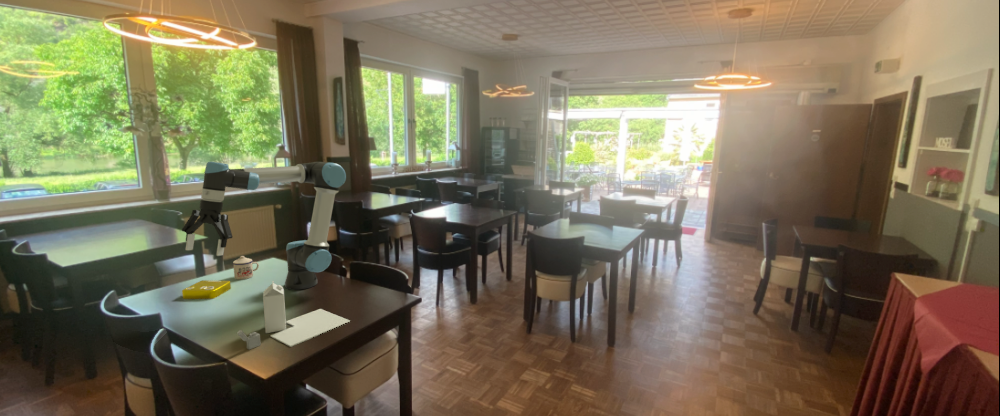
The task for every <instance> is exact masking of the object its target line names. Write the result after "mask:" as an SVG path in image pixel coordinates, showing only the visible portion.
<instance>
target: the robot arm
mask: <svg viewBox="0 0 1000 416" xmlns="http://www.w3.org/2000/svg"><path fill="white" fill-rule="evenodd" d="M203 174H204V175H203V183H202V189H201V200H200V202H199V203H200V204H199V209H192V211H191V215H190V216H189V218H188V219H187V221H186V222H185V224H184V225H183V227H182V229H181V231H182V232H184V233H186V235H185V243H186V245H185V251H193V250H194V245H195V244H194V243H195V239H196V237H195V236H196V234H195V232H196V231H197V230H198V229H199V228H200V227H201V226H202V225H203V224H210V225H212V226H213V227H214V229H215V231H216V232H217V234H218V236H219V237H220V238H219V239H218V241H217V248H216V254H215V256H217V257H220V256H224V253H225V252H224V251H225V248H226V247H227V243H228V239H229V240H230V239H233V234H232V230H231V226H230V222H229V215H228V214H227V213H226V214H225V213H223V214H221V212H222V211H223V205H224V202H223V201H224V200H225V195H226V193H225V192H226V188H230V189H231V188H232V189H239V190H245V191H246V190H247V191H248V190H250V191H256V189H258V187H259V185H263V184H280V183H292V182H293V183H294V182H298V183H299V184H306V183H307V184H313V188H314V190H315V191H316V192H315V199H314V203H313V210H312V215H311V221H310V226H309V232H308V237H307V240H306V239H304V240H297V241H296V240H295V241H292V242H288V243H287V244H286V250H285V252H286V259H287V260H286V261H287V262H286V263H287V273H286V277H285V281H284V288H286V289H288V290H292V291H294V290H304V289H305V290H306V289H309V288H312V287H315V286H316V285H317V284H318V277H317V275H316V273H321V272H324V271H325V270H326V269H328V268H329V266H330V265H331V262H332V258H333V257H332V253H330V251H329V249H330V244H329V243H328V236H329V230H330V225H331V219H332V214H333V209H334V203H335V197H336V195H337V194H338V193H339V192H340V188H341V187H342V186H343V185H344V184H345V182H346V180H347V173H346V171H345V169H344V168H343V166H341V165H340V164H338V163H334V162H328V161H314V162H307V163H298V164H296V165H291V166H271V167H252V168H250V167H249V168H247V167H246V168H230V167H229V164H228V163H224V162H223V163H222V162H216V161H207V162H206V165H205V169H204V173H203Z"/></svg>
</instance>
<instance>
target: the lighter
mask: <svg viewBox="0 0 1000 416" xmlns="http://www.w3.org/2000/svg"><path fill="white" fill-rule="evenodd" d="M236 334H237V335H238V337H239V338H240V339H241V341H243V342H246V349H247V350H252V349H254V348H258V347H259V346H261V343H262V342H261V334H260V333H258V332H255V331H253V332H251V333H249V335H248V336H247V335H246V334H245V333H244V331H243V330H241V329H239V330H238V331H237V332H236Z"/></svg>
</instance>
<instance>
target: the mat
mask: <svg viewBox="0 0 1000 416" xmlns="http://www.w3.org/2000/svg"><path fill="white" fill-rule="evenodd" d="M350 321H351V320H349V319H348V318H344V317H342V316H339V315H337V314H334V313H332V312H330V311H326V310H324V309H323V308H319V309H316V310H314V311H310V312H308V313H305V314H302V315H299V316H297V317H293V318H291V319H289V320H286V324H288V325H290V326H291V327H288V328H286V329H285V330H282V331H277V332H275V333H272V334H270V336H269V337H271V338H272V339H274V340H276V341H278V342H280V343H283V344H284V345H286V346H287V347H291V348H292V347H294V346H296V345H298V344H301V343H303V342H306V341H308V340H309V341H310V340H311V339H313V337H314V338H316V337H318V336H320V334H321V335H323V334H325V333H328V332H330V331H332V329H333V330H335V329H337V328H340V327H342V326H344V325H346V324H345V323H347V324H349V323H351V322H350ZM348 322H349V323H348ZM343 324H344V325H343ZM341 325H342V326H341ZM339 326H340V327H339ZM336 327H337V328H336ZM334 328H335V329H334ZM329 330H330V331H329ZM327 331H328V332H327ZM322 333H323V334H322Z"/></svg>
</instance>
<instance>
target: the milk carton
mask: <svg viewBox="0 0 1000 416" xmlns="http://www.w3.org/2000/svg"><path fill="white" fill-rule="evenodd" d="M262 301H263V303H262V304H263V313H264V314H263V316H264V326H265V327H264V329H265V334H269V333H274V332H275V333H277V332H280V331H283V330H285V329H287V323H286V321H287V317H286V304H285V290H284V287H283V286H282V285H281V284H276V283H274V282H272V283H271V284H269V286H267V288H265V290H263V293H262Z"/></svg>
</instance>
